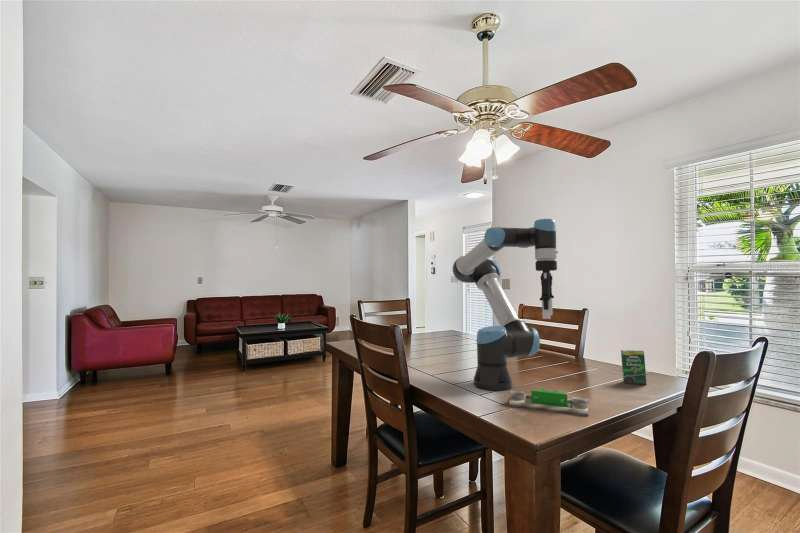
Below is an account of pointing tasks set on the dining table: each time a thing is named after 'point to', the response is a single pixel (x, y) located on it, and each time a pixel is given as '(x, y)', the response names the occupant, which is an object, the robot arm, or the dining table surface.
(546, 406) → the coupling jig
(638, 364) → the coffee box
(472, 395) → the dining table surface
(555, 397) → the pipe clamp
